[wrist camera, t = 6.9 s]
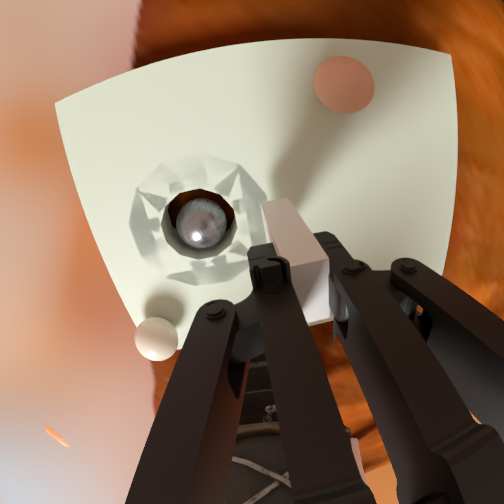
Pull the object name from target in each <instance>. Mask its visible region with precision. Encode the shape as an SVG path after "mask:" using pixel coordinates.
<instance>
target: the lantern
mask: <svg viewBox="0 0 504 504" xmlns="http://www.w3.org/2000/svg"><path fill="white" fill-rule="evenodd" d="M344 427H345V430H346V433H347V436H348V439H349V442H350V445H351V438H350V434H351V429H350V428H347V427H346V426H344ZM351 448H352V445H351ZM223 504H294V500H293V494H292V489H291V484H290V479H289V474H288V469H287V464H286V459H285V454H284V449H283V444H282V438H281V433H280V428H279V423H278V418H277V413H276V408H275V402H274V397H273V392H272V387H271V382H270V376H269V371H268V366H267V361H266V355H265V353H263V354H261V355H259V356H257V357H254V358H252V359H250V366H249V371H248V377H247V382H246V388H245V393H244V399H243V404H242V410H241V415H240V420H239V426H238V431H237V436H236V441H235V447H234V452H233V457H232V462H231V467H230V472H229V477H228V482H227V487H226V492H225V497H224V502H223Z"/></svg>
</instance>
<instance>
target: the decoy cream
mask: <svg viewBox="0 0 504 504" xmlns="http://www.w3.org/2000/svg"><path fill="white" fill-rule="evenodd" d="M135 344H136V347H137V349H138V351H139V352H140V353H141V354H142V355H143V356H144V357H146V358H147V359H150V360H153V361H162V360H165V359H168V358H169V357H171V356H172V355H173V354H174V352H175V351H176V349H177V347H178V334H177V331H176V329H175V327H174V326H173V325H172V324H171V323H170V322H169V321H168V320H166V319H164V318H161V317H150V318H147V319H145V320H144V321H142V322H141V323H140V324H139V326H138V327H137V329H136V332H135Z"/></svg>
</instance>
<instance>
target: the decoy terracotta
mask: <svg viewBox="0 0 504 504" xmlns="http://www.w3.org/2000/svg"><path fill="white" fill-rule="evenodd" d="M313 86H314V90H315V93H316V95H317V97H318V98H319V100H320V101H321V102H322V103H323V104H324V105H325V106H326V107H328V108H329V109H331V110H333V111H335V112H339V113H344V114H350V113H355V112H358V111H361V110H362V109H364V108H365V107H366V106H367V105H368V104H369V103H370V102H371V100H372V98H373V95H374V91H375V84H374V80H373V77H372V75H371V73H370V71H369V70H368V68H367V67H366V66H365V65H364V64H362V63H361V62H360V61H358V60H356V59H354V58H351V57H347V56H335V57H331V58H329V59H327V60H325V61H323V62H322V63H321V64H320V65H319V66H318V68H317V69H316V71H315V74H314V78H313Z"/></svg>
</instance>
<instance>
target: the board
mask: <svg viewBox="0 0 504 504" xmlns="http://www.w3.org/2000/svg"><path fill="white" fill-rule="evenodd" d="M335 56H347V57H351V58H354V59H356V60H358V61H360V62H361V63H362V64H364V65H365V66H366V67H367V68H368V70H369V71H370V73H371V75H372V77H373V80H374V84H375V91H374V95H373V98H372V100H371V102H370V103H369V104H368V105H367V106H366V107H365V108H364V109H362V110H361V111H358V112H355V113H350V114H344V113H339V112H335V111H333V110H331V109H329V108H328V107H326V106H325V105H324V104H323V103H322V102H321V101H320V100H319V98H318V97H317V95H316V93H315V90H314V86H313V78H314V74H315V71H316V69H317V68H318V66H319V65H320V64H321V63H322V62H323V61H325V60H327V59H329V58H331V57H335ZM55 108H56V113H57V117H58V122H59V127H60V131H61V135H62V139H63V144H64V147H65V151H66V155H67V158H68V162H69V166H70V169H71V173H72V176H73V179H74V182H75V185H76V189H77V191H78V195H79V198H80V201H81V203H82V206H83V209H84V212H85V214H86V217H87V220H88V223H89V225H90V228H91V231H92V233H93V236H94V238H95V241H96V243H97V246H98V248H99V250H100V253H101V255H102V257H103V260H104V262H105V264H106V266H107V269H108V271H109V273H110V275H111V278H112V279H113V282H114V284H115V286H116V288H117V290H118V292H119V294H120V296H121V298H122V300H123V302H124V304H125V306H126V308H127V310H128V312H129V314H130V316H131V318H132V320H133V322H134V323H135V325H136V327H138V326H139V324H140V323H141V322H142V321H144V320H145V319H147V318H150V317H161V318H164V319H166V320H168V321H169V322H170V323H171V324H172V325H173V326H174V327H175V329H176V331H177V334H178V347H177V349H182V347H183V344H184V342H185V339H186V337H187V334H188V332H189V329H190V327H191V324H192V322H193V319H194V317H195V315H196V312H197V311H198V309H199V308H200V307H201V306H202V305H204V304H205V303H207V302H209V301H212V300H217V299H224V300H228V301H230V302H232V303H233V304H236V303H239V302H241V301H243V300H244V299H246V298H247V297H248V296H249V295H250V294H251V292H252V290H253V287H252V282H251V277H250V272H249V262H248V257H247V252H248V250H249V248H250V247H251V246H256V245H261V244H266V243H267V242H266V236H265V230H264V224H263V218H262V212H261V206H260V202H265V201H270V200H276V199H281V198H287V197H288V199H289V200H290V202H291V203H292V205H293V206H294V207H295V209H296V210H297V212H298V213H299V215H300V216H301V217H302V219H303V220H304V222H305V223H306V225H307V226H308V228H309V229H310V231H311V232H312V234H313V233H318V232H323V231H328V232H330V233H332V234H334V235H335V236H336V237H337V239H338V240H339V242H341V244H342V245H343V246H344V247H345V249H346V250H347V251H348V252H349V254H350V255H351V256H352V258H353V259H355V260H360V261H363V262H365V263H366V264H367V265H369V267H370V268H371V269H372V270H390V269H391V264H392V262H393V261H394V260H396V259H399V258H404V257H407V258H412V259H415V260H418V261H420V262H421V263H423V264H424V265H426V266H427V267H429V268H430V269H432V270H433V271H435V272H436V273H438V274H439V275H441V276H442V273H443V269H444V264H445V259H446V254H447V249H448V243H449V238H450V231H451V225H452V218H453V210H454V201H455V190H456V177H457V154H458V127H457V105H456V92H455V82H454V74H453V66H452V59H451V55H450V54H446V53H442V52H438V51H434V50H429V49H424V48H419V47H414V46H408V45H402V44H395V43H387V42H379V41H369V40H356V39H333V38H308V39H284V40H271V41H261V42H252V43H244V44H237V45H230V46H224V47H218V48H213V49H208V50H203V51H198V52H194V53H189V54H185V55H181V56H177V57H173V58H169V59H166V60H162V61H159V62H155V63H152V64H149V65H146V66H143V67H139V68H136V69H134V70H131V71H128V72H125V73H123V74H120V75H117V76H114V77H112V78H109V79H107V80H104V81H102V82H99V83H97V84H95V85H92V86H90V87H88V88H86V89H83V90H81V91H79V92H77V93H75V94H73V95H70V96H68V97H67V98H64V99H62V100H61V101H59V102H57V103H55ZM199 188H200V189H204V190H207V191H211V192H214V193H217V194H220V195H221V196H222V197H223V198H224V199H225V200H226V201H227V202H228V203H229V204H230V206H231V207H232V208H233V209H234V213H235V216H234V218H233V221H232V224H231V227H230V229H228V230H227V231H226V232H225V233H224V235H223V237H222V238H221V240H220V241H219V242H218V243H216V244H215V245H213V246H211V247H208V248H203V249H199V248H194V247H191V246H189V245H188V244H186V243H185V242H184V241H183V240H182V239H181V238H180V236H179V234H178V231H177V230H176V229H175V228H174V227H173V226H172V224H171V220H170V217H169V213H168V207H169V203H170V201H171V200H173V199H174V198H175V197H176V196H177V195H178V194H179V193H181V192H186V191H190V190H194V189H199ZM333 318H334V315H333V313H332V311H331V309H330V318H327V319H322V320H318V321H314V322H310V323H307V324H308V326H312V325H316V324H321V323H325V322H329V321H333ZM177 349H176V350H177Z"/></svg>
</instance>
